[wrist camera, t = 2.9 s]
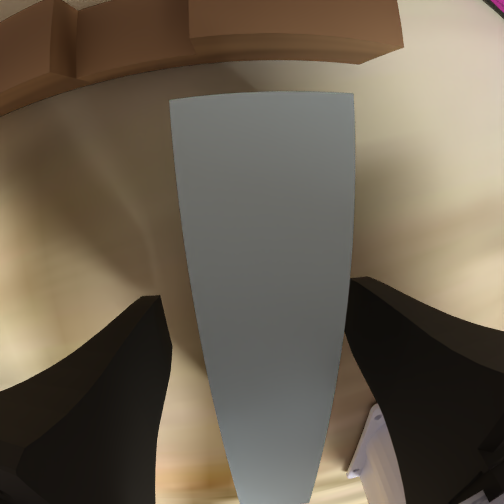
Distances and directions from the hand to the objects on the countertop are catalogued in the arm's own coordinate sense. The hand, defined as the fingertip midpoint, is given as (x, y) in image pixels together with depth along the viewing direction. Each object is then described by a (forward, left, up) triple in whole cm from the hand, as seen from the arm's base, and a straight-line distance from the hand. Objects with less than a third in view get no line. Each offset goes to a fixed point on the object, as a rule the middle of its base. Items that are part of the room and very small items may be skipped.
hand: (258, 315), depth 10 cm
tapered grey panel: (0, 0, -2) cm, 2 cm away
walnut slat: (+9, +3, -2) cm, 10 cm away
